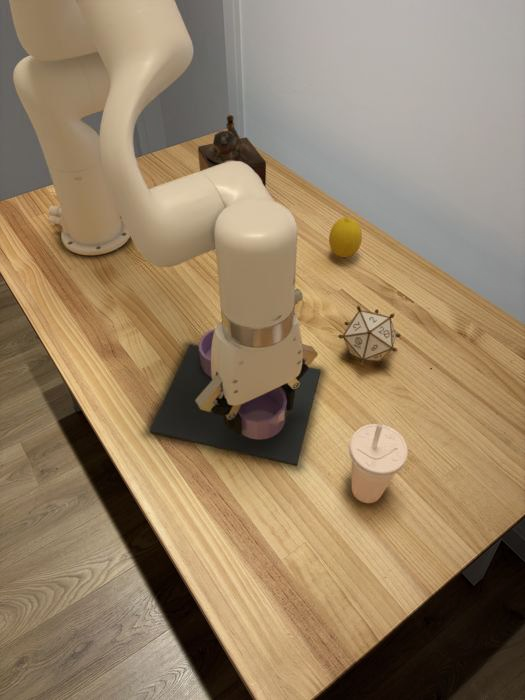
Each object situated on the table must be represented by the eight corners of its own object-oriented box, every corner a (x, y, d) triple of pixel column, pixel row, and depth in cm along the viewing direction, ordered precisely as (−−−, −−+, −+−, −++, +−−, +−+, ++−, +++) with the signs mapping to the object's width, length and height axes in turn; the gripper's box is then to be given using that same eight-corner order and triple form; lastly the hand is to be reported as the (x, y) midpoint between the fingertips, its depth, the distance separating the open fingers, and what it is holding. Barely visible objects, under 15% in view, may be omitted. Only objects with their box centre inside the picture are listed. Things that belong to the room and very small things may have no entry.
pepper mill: (197, 189, 112) (187, 101, 99) (248, 178, 115) (245, 90, 102) (222, 232, 103) (215, 140, 89) (277, 219, 105) (278, 127, 92)
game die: (372, 364, 86) (420, 323, 81) (364, 391, 79) (415, 347, 74) (330, 326, 85) (375, 282, 80) (317, 349, 78) (366, 302, 73)
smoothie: (336, 468, 70) (349, 402, 59) (386, 464, 70) (407, 398, 60) (345, 516, 66) (361, 453, 55) (399, 511, 66) (424, 449, 55)
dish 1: (194, 374, 79) (192, 357, 77) (209, 340, 84) (207, 323, 81) (240, 383, 78) (239, 366, 75) (252, 349, 83) (252, 331, 80)
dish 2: (226, 433, 70) (224, 415, 67) (241, 391, 74) (240, 373, 71) (278, 444, 68) (279, 427, 66) (291, 401, 73) (292, 383, 70)
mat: (149, 432, 73) (149, 430, 73) (190, 346, 84) (189, 344, 83) (296, 466, 70) (297, 464, 70) (320, 371, 80) (320, 369, 80)
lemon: (358, 247, 99) (364, 209, 93) (358, 267, 96) (365, 229, 90) (327, 245, 100) (331, 208, 94) (326, 265, 96) (331, 227, 90)
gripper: (307, 267, 63) (300, 368, 76) (166, 323, 57) (185, 422, 70) (346, 307, 58) (332, 407, 71) (198, 371, 52) (212, 467, 66)
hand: (259, 414), depth 71 cm, fingers closed on dish 2, 6 cm apart
